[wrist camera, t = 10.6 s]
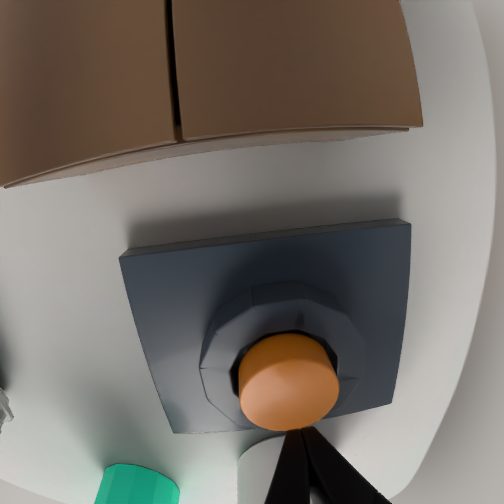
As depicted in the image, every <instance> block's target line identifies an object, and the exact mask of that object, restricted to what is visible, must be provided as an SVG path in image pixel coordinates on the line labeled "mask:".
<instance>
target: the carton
mask: <svg viewBox="0 0 504 504" xmlns="http://www.w3.org/2000/svg"><path fill="white" fill-rule="evenodd" d="M404 131H409V128H404V127H330V128H307V129H290V130H277V131H265V132H254V133H245V134H236V135H227V136H219V137H212V138H204V139H198V140H191V141H186V140H184V139H183V136H182V127H181V118H180V108H179V98H178V87H177V75H176V63H175V50H174V35H173V18H172V0H0V187H3V186H4V188H5V189H7V188H12V187H16V186H21V185H27V184H32V183H37V182H43V181H48V180H54V179H60V178H67V177H73V176H79V175H85V174H90V173H94V172H98V171H103V170H107V169H112V168H117V167H121V166H126V165H131V164H136V163H141V162H147V161H152V160H158V159H164V158H169V157H176V156H182V155H188V154H195V153H202V152H209V151H217V150H224V149H233V148H241V147H251V146H261V145H272V144H284V143H297V142H313V141H334V140H346V139H353V138H359V137H366V136H373V135H380V134H388V133H396V132H404Z"/></svg>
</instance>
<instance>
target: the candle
mask: <svg viewBox="0 0 504 504" xmlns="http://www.w3.org/2000/svg"><path fill="white" fill-rule="evenodd" d="M179 495H180V491H179V489H178V488H177V486H176V484H175V483H174V482H173V481H172V480H170V479H168V478H167V477H165V476H163V475H162V474H160V473H159V472H156V471H153V470H149V469H146V468H143V467H140V466H137V465H126V464H115V465H112V466H110V467H107V468H106V469H105V472H104V475H103V478H102V481H101V484H100V487H99V491H98V494H97V497H96V500H95V503H94V504H178V503H179Z"/></svg>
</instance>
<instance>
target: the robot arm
mask: <svg viewBox="0 0 504 504" xmlns="http://www.w3.org/2000/svg"><path fill="white" fill-rule="evenodd" d="M310 496H311V500H312V503H313V504H392V503H390V502H389V501H388V500H387V499H386V498H385V497H384V496H383V495H382V494H381V493H379V492H378V491H377V490H376V489H375V488H374V487H373V486H372V485H371V484H370V483H369V482H368V481H367V480H366V479H365V478H364V477H363V476H362V475H361V474H360V473H359V472H358V471H357V470H356V469H355V468H354V467H353V466H352V465H351V464H350V463H349V462H348V461H347V460H346V459H345V458H344V457H343V456H342V455H341V454H340V453H339V452H338V451H337V450H336V449H335V448H334V447H333V446H332V445H331V444H330V443H329V442H328V441H327V439H326V438H325V437H324V436H323V435H322V434H321V433H320V432H319V431H318V430H317V429H316V428H315V427H314V426H310V427H304V428H301V430H300V429H298V428H297V429H291V430H287V432H286V435H285V439H284V442H283V445H282V449H281V452H280V455H279V459H278V462H277V465H276V469H275V472H274V475H273V478H272V481H271V484H270V487H269V490H268V493H267V496H266V499H265V502H264V504H310Z"/></svg>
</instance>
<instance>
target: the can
mask: <svg viewBox="0 0 504 504" xmlns="http://www.w3.org/2000/svg"><path fill="white" fill-rule="evenodd" d="M285 435H286V434H283V435H278V436H274V437H270V438H267V439H265V440H262V441H260V442H258V443H256V444H254V445H253V446H252V447H250V448H249V449H248V450H247V451H246V452H244V453H243V454H242V456H241V457H240V458H239V460H238V463H237V504H264V502H265V499H266V496H267V493H268V490H269V487H270V484H271V481H272V478H273V475H274V472H275V469H276V465H277V462H278V459H279V455H280V452H281V449H282V445H283V442H284V439H285ZM310 504H313V503H312V500H311V496H310Z"/></svg>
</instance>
